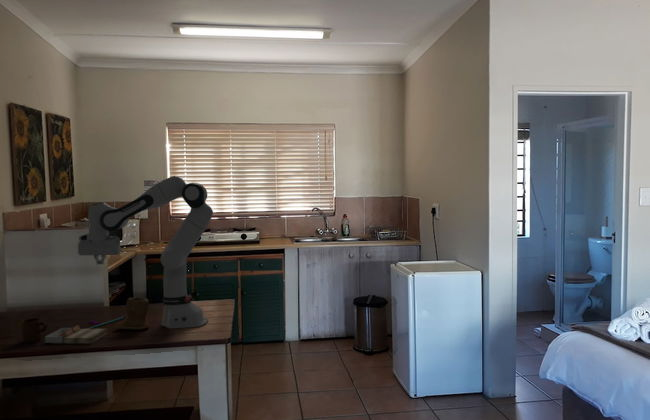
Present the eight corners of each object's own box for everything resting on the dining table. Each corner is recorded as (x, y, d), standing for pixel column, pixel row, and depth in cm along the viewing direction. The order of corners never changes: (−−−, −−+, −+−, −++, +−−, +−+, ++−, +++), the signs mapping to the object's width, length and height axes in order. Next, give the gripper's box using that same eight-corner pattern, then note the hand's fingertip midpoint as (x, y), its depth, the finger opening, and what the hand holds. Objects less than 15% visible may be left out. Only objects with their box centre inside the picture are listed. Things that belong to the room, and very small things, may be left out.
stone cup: (154, 325, 252) (153, 295, 251) (142, 332, 240) (141, 300, 240) (126, 324, 255) (125, 295, 254) (113, 331, 243) (111, 300, 242)
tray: (79, 334, 240) (79, 327, 240) (62, 343, 226) (62, 336, 226) (62, 334, 240) (62, 327, 240) (45, 343, 226) (44, 336, 226)
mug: (54, 339, 233) (52, 318, 232) (41, 344, 226) (39, 323, 225) (32, 337, 236) (31, 317, 235) (18, 342, 228) (17, 322, 228)
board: (107, 333, 239) (107, 328, 239) (92, 343, 225) (91, 337, 225) (80, 334, 240) (80, 328, 240) (63, 343, 226) (63, 337, 226)
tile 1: (80, 328, 238) (78, 324, 238) (74, 331, 233) (72, 327, 233) (71, 333, 239) (69, 330, 238) (65, 337, 234) (63, 333, 233)
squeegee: (111, 314, 271) (124, 316, 267) (111, 317, 271) (125, 319, 267) (62, 329, 246) (77, 332, 241) (63, 333, 246) (77, 335, 241)
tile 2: (73, 332, 232) (71, 328, 232) (67, 335, 227) (65, 331, 227) (64, 337, 233) (61, 333, 233) (57, 340, 228) (55, 337, 228)
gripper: (122, 235, 252) (123, 262, 252) (82, 235, 253) (83, 263, 254) (116, 236, 245) (118, 264, 246) (75, 237, 247) (76, 265, 247)
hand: (100, 264), depth 250 cm, fingers closed
